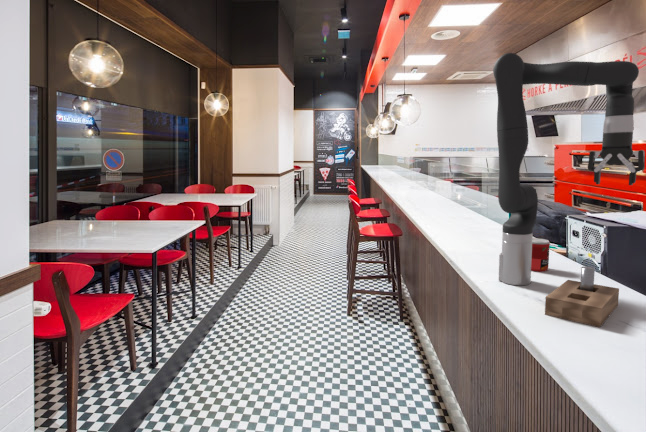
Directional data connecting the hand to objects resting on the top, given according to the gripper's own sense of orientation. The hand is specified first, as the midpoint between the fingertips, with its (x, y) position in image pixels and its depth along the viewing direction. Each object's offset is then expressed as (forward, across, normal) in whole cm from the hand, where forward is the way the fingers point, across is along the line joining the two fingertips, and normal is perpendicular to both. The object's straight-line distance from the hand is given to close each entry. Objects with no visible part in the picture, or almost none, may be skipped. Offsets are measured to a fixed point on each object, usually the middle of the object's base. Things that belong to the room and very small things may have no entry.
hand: (614, 184), depth 130 cm
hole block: (+33, 0, -26) cm, 42 cm away
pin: (+32, -1, -22) cm, 39 cm away
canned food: (+33, -24, +8) cm, 42 cm away
